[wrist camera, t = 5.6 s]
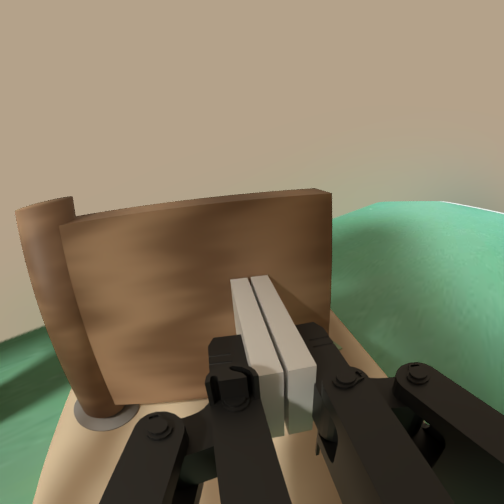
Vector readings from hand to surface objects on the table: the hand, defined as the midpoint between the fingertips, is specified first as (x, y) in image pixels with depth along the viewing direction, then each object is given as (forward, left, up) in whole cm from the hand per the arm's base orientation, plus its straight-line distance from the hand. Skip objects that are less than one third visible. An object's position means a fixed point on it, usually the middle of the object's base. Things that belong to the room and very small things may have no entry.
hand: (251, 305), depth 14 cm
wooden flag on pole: (-3, +1, -6) cm, 7 cm away
